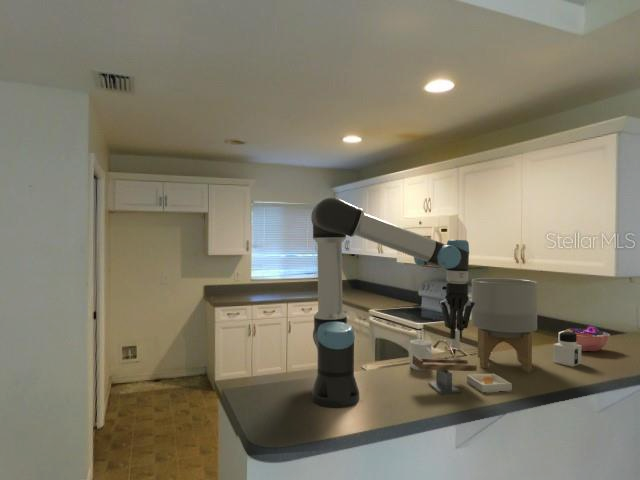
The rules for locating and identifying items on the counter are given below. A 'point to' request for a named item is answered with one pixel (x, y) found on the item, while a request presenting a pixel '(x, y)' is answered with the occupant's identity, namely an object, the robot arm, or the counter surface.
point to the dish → (496, 386)
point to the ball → (487, 379)
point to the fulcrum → (444, 383)
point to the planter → (505, 316)
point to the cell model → (590, 338)
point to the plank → (443, 364)
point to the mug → (420, 351)
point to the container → (567, 349)
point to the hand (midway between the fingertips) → (455, 347)
